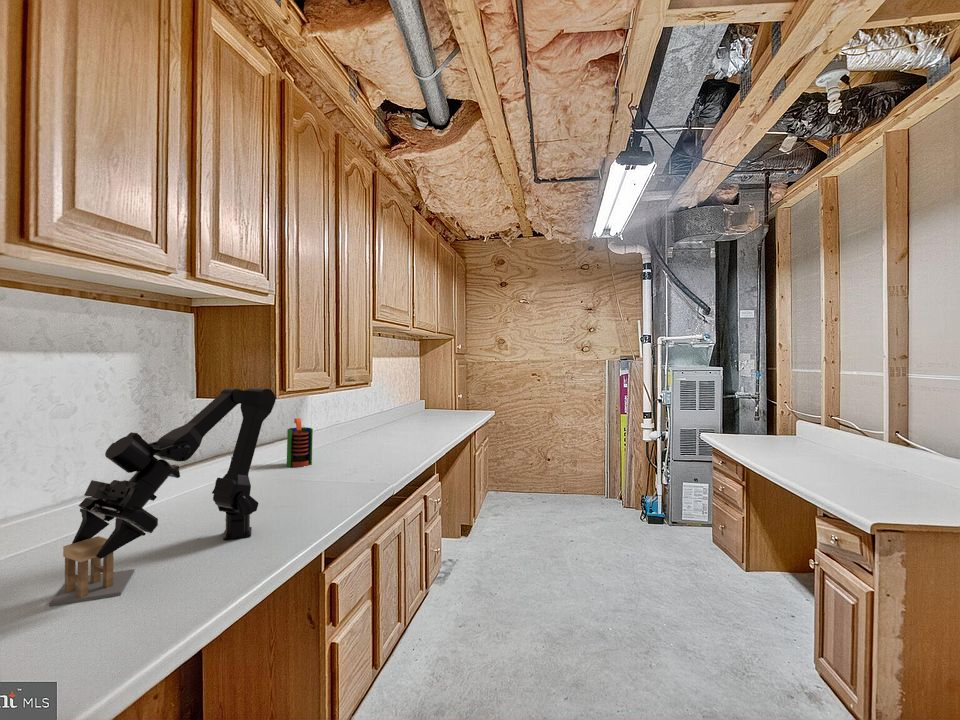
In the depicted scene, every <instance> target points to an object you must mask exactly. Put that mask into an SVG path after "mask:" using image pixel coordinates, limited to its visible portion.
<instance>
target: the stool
mask: <svg viewBox="0 0 960 720" xmlns="http://www.w3.org/2000/svg"><path fill="white" fill-rule="evenodd" d="M107 539H108V538H106V537H103V536H99V535H97V536H93V537H92V538H90V539H87V540H83V541H80V542H76V543H73V544H72V543H70V544H67V545H63V547H62V548H63V549H62V550H63V551H62V557H64V585H65V592H67V593H69V592H72V591H75V582H77V597H79V598H82V597H85V596H87V595H88V575H89V560H90V575H91V577H90V582H91V583H96V582H99V581H101V574H102V573H103V587H105V588H108V587H110V586H113V572H114V552H112V553H110V554H109V555H107V556H105V557H104V558H102V559H103V561H102V559H100V558H98V557H96V555H97V554H98V552H99V550H100V549H101V548H102V546H103V545H104V543H105V542H106V541H107ZM101 561H102V563H101ZM76 562H77V565H76ZM101 564H103V565H101ZM76 567H77V574H76Z"/></svg>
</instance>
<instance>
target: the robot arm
mask: <svg viewBox="0 0 960 720" xmlns="http://www.w3.org/2000/svg"><path fill="white" fill-rule="evenodd" d="M276 399H277V398H276V395H275V393H274V391H273V390H272V389H270V388H263V387H262V388H261V387H260V388H259V387H258V388H257V387H249V388H248V389H245V390H243V389H240V388H233V387H230V388H229V387H227V388H225V389H222V390H221V392H220V394H218V395H217V396H216V397H215V398H214V399H213V400H212V401H211V402H209V403H208V404H207V405H206V406H205V407H204V408H203V409H201V410H200V412H198V413H197V414H196V415H195V416H193V418H191V419H190V420H189V421H188V422H186V423H185V424H183V425H181V426H179V427H176V428H174V429H172V430H170V431H169V432H167V433H165V434H164V435H162V436H161V437H160V438H159V439H158V440H156V441H153V442H150V443H148V441H146V440H144V438H143V437H142V436H141V434H139V433H138V432H134V431H133V432H129V433H128V434H127V435H126V436H123V437H121V438H119V439H117V440H116V441H115V442H112V443H111V444H110V445H109V446H108V447H107V449H106V451H105V452H104V453H105V458H106V459H108V460H110V461H111V462H112V463H113V464H115V465H116V466H117V467H119V468H120V469H122V470H123V471H125V472H126V473H128V474H129V473H130V474H131V473H134V472H135V473H134V474H133V475H132V477H130V479H129V480H125V479H123V480H118V479H114V480H111V482H109V483H108V482H105V481H104V482H103V481H98V480H95V479H94V480H92V479H91V480H90V482H89V484H88V486H87V488H86V491H85V492H84V494H83V496H85V497H84V498H83V500H82V502H80V503H79V504H78V507H79V512H80V513H81V517H82V520H81V522H80V525H79V528H78V530H77V532H76V534H75V536H74V538H73V540H72V543H71V544H73V543H76V542H80V541H83V540H87V539H90V538H93V537H96V535H97V534H99V533H100V532H102V531H103V530H104V529H105V528H107V527H108V526H110V523H109V522H110V521H112V520H114V519H115V522H114V523H115V525H114V530H112V532H111V534H110V535H109V537H108V538H106V539H107V541H106V542H105V543H104V545H103V546H102V548H101V549H100V550H99V552H98V554H97V555H96V557H98V558H100V559H101V560H102V559H103V558H104V557H105V556H107V555H109V554H110V553H112V552H113V553H114V552H116V551H117V550H118V549H120V548H122V547H124V546H125V545H127V544H129V543H130V542H133V541H134V540H137V539H138V538H141V537H143V536H146V535H147V533H149V534H153V532H154V531H155V529H156V528H157V527H158V526H159V518H158V517H156V516H155V515H153V514H152V513H150V512H149V511H147V510H145V509H144V507H145V506H146V505H147V503H148V502H149V501H153V502H154V501H155V500H156V499H157V497H158V496H156V495H155V494H156V492H157V491H158V490H159V488H161V486H162V485H163V484H164V483H165V482H166V481H167V479H168V478H169V477H170V478H174V479H175V478H176V479H180V477H181V472H180V465H176V464H170V462H168V461H174V462H179V463H181V462H186V461H188V460H189V459H191V458H192V456H193V455H194V454H195V453H196V452H197V450H198V449H199V447H200V446H201V444H202V441H203V438H204V437H205V436H206V435H207V433H209V432H210V431H211V430H212V429H213V428H214V427H215V426H216V425H217V424H218V423H219V422H220V421H221V420H222V419H223V418H224V417H226V416H227V415H228V414H229V413H230V412H231V411H232V410H233V409H234V408H235V407H236V406H237V405H239V404H240V412H241V415H242V421H241V424H240V429H239V431H238V432H239V433H238V435H237V437H236V438H237V439H236V443H235V446H234V449H233V452H232V456H231V461H230V464H229V467H228V471H227V473H226V474H224V476H223V477H217V478H216V480H215V485H214V487H213V488H214V489H213V490H212V491H211V494H213V496H212V497H213V498H212V500H213V502H214V503H215V505H216V506H217V508H218V510H219V512H225V529H224V532H223V537H222V540H224V541H225V540H231V539H233V540H234V539H239V538H241V539H242V538H249V537H252V531H253V530H252V526H251V522H250V521H251V515H252V514H253V513H254V512H257V510H258V507H259V501H257V500H256V499H254V498H253V497H252V496H251V490H252V485H251V481H250V477H249V474H250V469H251V466H252V461H253V458H254V456H255V455H254V454H255V451H256V447H257V444H258V441H259V436H260V433H261V428H262V425H263V423H264V421H265V420H266V418H267V417H268V416H270V415H271V413H272V411H273V408H274V406H275V404H276ZM155 456H157V457H158V458H160V459H158V458H156V457H155ZM167 460H168V461H167Z"/></svg>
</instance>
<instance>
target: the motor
mask: <svg viewBox="0 0 960 720" xmlns="http://www.w3.org/2000/svg"><path fill="white" fill-rule="evenodd" d="M293 424H295V425H296V426H295V427H290V428H287V431H286V432H287V433H286V436H287V437H286V438H287V439H286V440H287V441H286V467H287V468H289V467H290V468H305V467H304V466H306V467H308V466H309V465H310V466H312V464H313V435H314V433H313V431H314V430H313V429H314V428H312V427H308V426H307V427H306V426H305V427H304V426H303V427H302V420H301V418H300V417H298V418H294V419H293Z"/></svg>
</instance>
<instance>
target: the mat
mask: <svg viewBox="0 0 960 720" xmlns="http://www.w3.org/2000/svg"><path fill="white" fill-rule="evenodd" d="M134 573H135V568H133V569H125V570H124V569H123V570H118V571H113V586H110V587H108V588H105V587H103V573H101V581H99V582H96V583H91V582H90V577H91V574H90V575H89V574H88V595H87V596H85V597H82V598H79V597H77V582H75V591H72V592H69V593H67V592H65V584H64V585H63V586H62V588H61V589H60V590H59V591H58V592H57V593H56V594H55V595H54V597H53V598H52V599H51V601H49V603H48V604H49V605H48V606H49V607H55V606H60V605H67V604H72V603H78V602H85V601H92V600H97V599H98V600H99V599H104V598H111V597H117V596H121V595H122V594H123V592H124V591H125V588H126V587H127V585H128V583H129V582H130V580H131V578H132V576H133V575H134Z"/></svg>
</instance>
